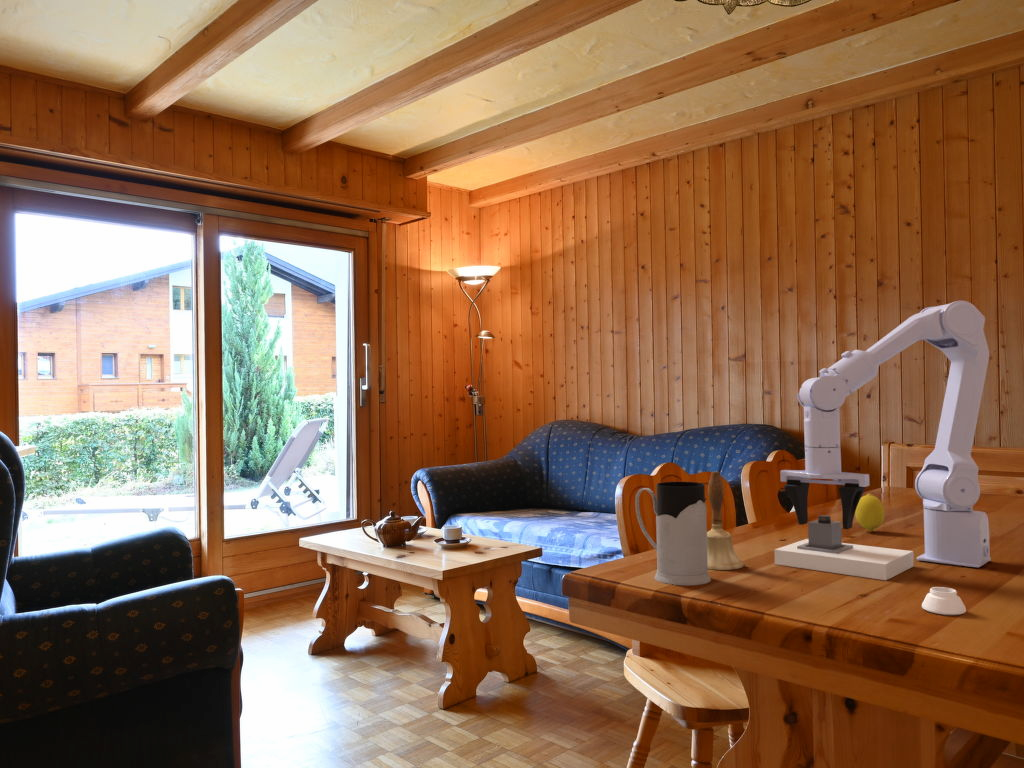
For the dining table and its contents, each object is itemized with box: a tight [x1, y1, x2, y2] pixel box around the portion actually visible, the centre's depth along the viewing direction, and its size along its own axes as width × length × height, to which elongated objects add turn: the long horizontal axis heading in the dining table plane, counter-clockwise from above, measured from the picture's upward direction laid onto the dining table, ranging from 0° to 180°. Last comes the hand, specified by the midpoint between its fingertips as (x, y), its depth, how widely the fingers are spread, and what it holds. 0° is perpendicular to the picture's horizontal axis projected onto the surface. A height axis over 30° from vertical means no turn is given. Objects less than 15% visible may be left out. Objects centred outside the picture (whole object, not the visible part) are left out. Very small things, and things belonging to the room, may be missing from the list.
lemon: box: [854, 493, 885, 533], centre depth 160 cm, size 6×6×8 cm
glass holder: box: [634, 481, 712, 586], centre depth 124 cm, size 9×14×15 cm, turn 36°
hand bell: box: [707, 471, 745, 571], centre depth 131 cm, size 8×8×16 cm
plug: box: [807, 514, 843, 550], centre depth 131 cm, size 4×4×8 cm
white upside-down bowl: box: [921, 586, 967, 616], centre depth 101 cm, size 5×3×5 cm
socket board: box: [774, 538, 915, 581], centre depth 129 cm, size 18×13×3 cm
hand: (824, 526), depth 131 cm, fingers open, 7 cm apart
